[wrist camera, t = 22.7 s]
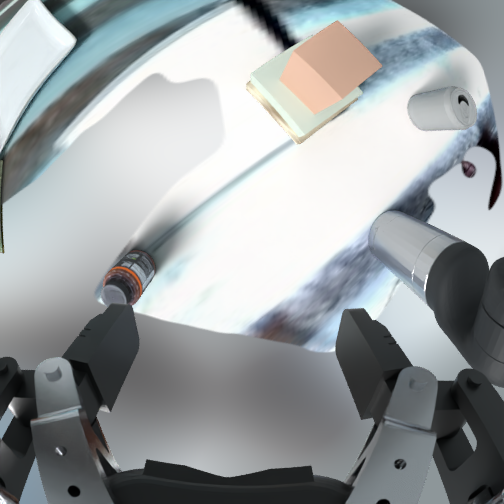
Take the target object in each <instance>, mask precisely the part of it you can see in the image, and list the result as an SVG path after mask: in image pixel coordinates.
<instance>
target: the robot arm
mask: <svg viewBox="0 0 504 504" xmlns="http://www.w3.org/2000/svg"><path fill="white" fill-rule="evenodd" d="M369 247H370V250H371V252H372V254H373V255H374V256H375V257H376V258H377V259H378V260H379V261H380V262H381V263H382V264H383V265H385V266H386V267H387V268H388V269H389V270H390V271H391V272H392V273H393V274H394V275H396V276H397V277H398V278H399V279H400V280H401V281H402V282H403V283H404V284H405V285H407V286H408V287H409V288H410V289H411V290H412V291H413V292H414V293H415V294H416V295H417V296H418V297H419V298H420V299H422V300H423V301H424V302H425V303H426V304H427V305H428V306H429V307H430V308H431V309H432V310H433V311H434V314H435V318H436V321H437V323H438V325H439V326H440V328H441V329H442V330H443V331H444V333H445V334H446V335H447V336H448V338H449V339H450V340H451V341H452V343H453V344H454V345H455V346H456V348H457V349H458V351H459V352H460V353H461V354H462V356H463V357H464V358H465V360H466V361H467V362H468V363H469V365H470V366H471V367H472V368H473V369H464V370H462V371H460V372H459V374H458V376H457V378H456V379H455V381H437V379H436V377H435V376H434V375H433V374H432V373H431V372H430V371H428V370H427V369H425V368H422V367H416V366H413V365H412V364H411V362H410V361H409V359H408V358H407V357H406V355H405V354H404V352H403V351H402V349H401V348H400V346H399V345H398V344H396V341H395V339H394V338H393V337H392V335H391V334H390V332H389V331H388V329H387V328H386V327H385V326H384V325H382V324H381V323H379V322H378V321H376V320H372V319H371V317H370V316H369V314H368V313H367V312H366V310H365V309H364V308H359V309H345V310H344V311H343V313H342V318H341V322H340V327H339V331H338V336H337V340H336V356H337V359H338V361H339V364H340V366H341V369H342V371H343V374H344V376H345V379H346V381H347V384H348V386H349V389H350V392H351V394H352V397H353V399H354V402H355V404H356V407H357V410H358V412H359V415H360V417H361V420H363V419H368V418H373V419H374V422H375V423H374V425H373V426H372V428H371V431H370V433H369V435H368V437H367V439H366V442H365V443H364V445H363V447H362V450H361V452H360V454H359V455H358V458H357V459H356V462H355V463H354V465H353V467H352V468H351V470H350V472H349V473H348V475H347V476H346V478H345V479H344V481H343V482H341V481H339V480H336V479H332V478H329V477H324V476H318V475H313V472H312V467H311V466H303V467H293V468H279V469H268V470H264V471H260V472H255V473H251V474H246V475H241V476H235V477H222V476H217V475H214V474H211V473H207V472H204V471H201V470H197V469H194V468H191V467H188V466H185V465H177V464H170V463H164V462H158V461H153V460H146V463H145V467H144V469H134V470H128V471H123V472H122V471H121V469H120V467H119V466H118V464H117V463H116V461H115V459H114V457H113V455H112V453H111V450H110V448H109V445H108V443H107V441H106V438H105V436H104V433H103V431H102V428H101V426H100V423H99V420H98V418H97V416H96V415H97V412H98V411H99V410H102V411H106V412H111V410H112V408H113V405H114V403H115V401H116V399H117V396H118V394H119V392H120V389H121V387H122V385H123V383H124V381H125V378H126V376H127V374H128V372H129V370H130V368H131V365H132V363H133V361H134V359H135V357H136V355H137V352H138V349H139V335H138V331H137V326H136V322H135V317H134V312H133V308H132V306H131V305H130V304H122V303H111V304H110V305H109V307H108V308H107V309H106V311H105V312H104V313H103V314H99V315H98V316H96V317H95V318H93V319H91V320H90V321H89V323H88V324H87V325H86V326H85V328H84V330H82V331H81V333H80V334H79V336H78V337H77V338H76V339H75V340H74V342H73V343H72V344H71V346H70V347H69V348H68V350H67V351H66V352H65V353H64V355H63V356H62V358H58V357H57V358H50V359H47V360H45V361H43V362H42V363H41V364H39V366H38V367H37V368H36V370H21V369H20V367H19V365H18V363H17V361H16V360H15V359H14V358H11V357H3V358H0V420H1V418H2V416H3V415H4V413H5V411H6V410H7V408H9V409H10V411H11V412H12V413H13V415H14V417H13V419H12V421H11V423H10V425H9V426H8V428H7V430H6V432H5V434H4V436H3V438H2V440H1V439H0V504H19V501H20V497H21V495H22V491H23V489H24V486H25V483H26V480H27V478H28V475H29V472H30V469H31V467H32V464H33V462H34V459H35V457H36V460H37V464H38V469H39V472H40V477H41V480H42V484H43V488H44V491H45V494H46V498H47V501H48V504H417V503H418V501H419V498H420V495H421V492H422V489H423V486H424V483H425V480H426V477H427V473H428V470H429V466H430V462H431V459H432V456H433V458H434V461H435V463H436V466H437V468H438V471H439V474H440V476H441V479H442V482H443V485H444V487H445V490H446V493H447V496H448V499H449V502H450V504H504V401H503V400H502V399H501V397H500V395H499V394H498V393H497V391H496V390H495V388H494V387H493V386H492V384H493V385H495V386H498V387H503V388H504V257H503V258H500V259H498V260H496V261H495V262H494V263H493V265H492V266H491V268H490V270H489V266H488V262H487V259H486V257H485V256H484V254H483V253H482V252H481V251H480V250H479V249H478V248H476V247H474V246H472V245H471V244H468V243H467V242H465V241H462V240H461V239H459V238H457V237H455V236H453V235H451V234H449V233H447V232H444V231H442V230H440V229H438V228H436V227H434V226H432V225H430V224H428V223H426V222H423V221H421V220H419V219H417V218H415V217H413V216H410V215H408V214H406V213H403V212H401V211H398V210H391V211H387V212H385V213H383V214H382V215H380V216H379V217H378V218H377V219H376V220H375V222H374V223H373V225H372V227H371V229H370V233H369ZM466 422H467V423H468V424H469V426H470V428H471V430H472V432H473V434H474V435H475V437H476V440H477V447H476V450H475V452H474V451H473V449H472V447H471V445H470V443H469V441H468V439H467V437H466V435H465V433H464V431H463V429H462V427H463V426H464V425H465V423H466Z"/></svg>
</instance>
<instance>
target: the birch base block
mask: <svg viewBox="0 0 504 504" xmlns="http://www.w3.org/2000/svg"><path fill="white" fill-rule="evenodd" d="M246 90H247V91H248V92H249V93H250V94H251V95H252V96H253V97H254V98H255V99H256V100H257V101H258V102H259V103H260V104H261V105H262V106H263V107H264V108H265V110H266V111H267V112H268V113H269V114H270V115H271V116H272V117H273V118H274V119H275V120H276V121H277V123H278V124H279V125H280V126H281V127H282V128H283V129H284V130H285V131H286V133H287V134H288V135H289V136H290V137H291V138H292V139H293V141H294V142H295V143H296V144H301V143H302V142H304V141H305V140H306V139H307V138H309V137H310V136H311V135H312V134H314V133H315V132H316V131H317V130H319V129H320V128H321V127H322V126H324V125H325V124H326V123H328V122H329V121H330V120H331V119H333V118H334V117H335V116H337V115H338V114H339V113H340V112H342V111H343V110H344V109H346V108H347V107H348V106H350V105H351V104H352V103H354V102H355V101H356V100H358V98H356V99H354V100H353V101H351V102H350V103H349V104H347V105H346V106H344V107H343V108H341V109H340V110H339V111H337V112H336V113H334V114H333V115H332V116H330V117H329V118H327V119H326V120H325V121H323V122H322V123H321V124H319V125H318V126H317V127H315V128H314V129H312V130H311V131H310V132H308V133H307V134H306V135H304V136H301V137H298V136H297V134H296V133H295V132H294V131H293V130H292V128H291V127H290V126H289V125H288V124H287V122H286V121H285V120H284V119H283V118H282V117H281V115H280V114H279V113H278V112H277V111H276V110H275V108H274V107H273V106H272V105H271V104H270V103H269V102H268V101H267V99H266V98H265V97H264V96H263V95H262V94H261V93H260V92H259V91H258V90H257V89H256V87H255V86H254V85H253V84H252V83H251V82H250V81H249V82H248V83H247V84H246Z"/></svg>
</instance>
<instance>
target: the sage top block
mask: <svg viewBox="0 0 504 504" xmlns="http://www.w3.org/2000/svg"><path fill="white" fill-rule="evenodd" d="M312 37H313V35H311V36H309V37H308V38H306V39H304V40H302V41H301V42H299V43H297V44H296V45H294V46H292V47H291V48H289V49H287V50H286V51H284V52H283V53H281V54H279V55H278V56H276V57H275V58H273V59H272V60H270V61H269V62H267V63H266V64H264V65H263V66H261V67H260V68H258V69H257V70H255V71H254V72H252V73H251V80H250V82H251V83H252V84H253V85H254V86H255V87H256V89H257V90H258V91H259V92H260V93H261V94H262V95H263V96H264V97H265V98H266V99H267V101H268V102H269V103H270V104H271V105H272V106H273V107H274V108H275V110H276V111H277V112H278V113H279V114H280V115H281V117H282V118H283V119H284V120H285V121H286V122H287V124H288V125H289V126H290V127H291V128H292V130H293V131H294V132H295V133H296V134H297V136H298V137H301V136H304V135H306V134H307V133H308V132H310V131H311V130H312V129H314V128H315V127H317V126H318V125H319V124H321V123H322V122H323V121H325V120H326V119H327V118H329V117H330V116H332V115H333V114H334V113H336V112H337V111H339V110H340V109H341V108H343V107H344V106H346V105H347V104H349V103H350V102H351V101H353V100H354V99H356V98H357V97H359V96H360V95H362V94H363V92H362V91H361V90H360V88H359V87H356V88H355V89H354V90H353V91H352V92H350V93H349V94H348V95H347V96H346V97H345V98H343V99H342V100H340V101H338V102H336V103H335V104H333V105H331V106H329V107H327V108H325V109H324V110H322V111H320V112H318V113H317V114H315V115H314V114H313V113H312V111H311V110H310V109H309V108H308V107H307V106H306V105H305V104H304V103H303V102H302V101H301V100H300V99H299V98H298V97H297V96H296V95H295V94H294V93H293V92H292V91H291V90H289V89H288V88H287V87H286V86H285V85H284V84H283V83H282V82H281V81H280V80H279V79H280V77H281V75H282V73H283V71H284V69H285V67H286V65H287V63H288V60H289V58H290V56H291V54H292V52H293V51H294V50H295V49H296V48H298V47H299V46H300V45H302V44H303V43H304V42H306V41H307V40H309V39H310V38H312Z"/></svg>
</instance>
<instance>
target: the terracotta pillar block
mask: <svg viewBox="0 0 504 504" xmlns="http://www.w3.org/2000/svg"><path fill="white" fill-rule="evenodd" d="M381 67H382V65H381V64H380V62H379V61H378V60H377V59H376V58H375V57H374V56H373V55H372V54H371V53H370V51H369V50H368V49H367V48H366V47H365V46H364V45H363V44H362V43H361V42H360V41H359V40H358V39H357V38H356V37H355V36H354V35H353V34H352V33H351V32H350V31H349V30H347V29H346V28H345V27H344V26H343V25H342V24H341V23H340V22H339V21H338V20H337V21H335V22H334V23H332V24H331V25H329V26H328V27H326V28H325V29H323V30H322V31H320V32H319V33H317V34H316V35H314V36H313V37H312V38H310V39H309V40H307V41H306V42H304V43H303V44H302V45H300V46H299V47H298V48H296V49H295V50H294V51H293V52H292V54H291V56H290V58H289V60H288V63H287V65H286V67H285V69H284V71H283V73H282V75H281V77H280V79H279V80H280V81H281V82H282V83H283V84H284V85H285V86H286V87H287V88H288V89H289V90H291V91H292V92H293V93H294V94H295V95H296V96H297V97H298V98H299V99H300V100H301V101H302V102H303V103H304V104H305V105H306V106H307V107H308V108H309V109H310V110H311V111H312V113H313V114H314V115H315V114H317V113H318V112H320V111H322V110H324V109H325V108H327V107H329V106H331V105H333V104H335V103H336V102H338V101H340V100H342V99H343V98H345V97H346V96H347V95H348V94H349V93H350V92H352V91H353V90H354V89H355V88H356V87H358V86H359V85H360V84H361V83H362V82H364V81H365V80H366V79H367V78H368V77H370V76H371V75H372V74H373V73H375V72H376V71H377V70H378V69H379V68H381Z"/></svg>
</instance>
